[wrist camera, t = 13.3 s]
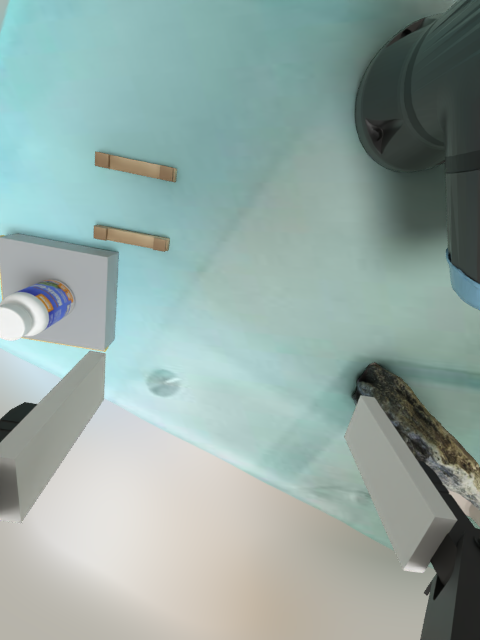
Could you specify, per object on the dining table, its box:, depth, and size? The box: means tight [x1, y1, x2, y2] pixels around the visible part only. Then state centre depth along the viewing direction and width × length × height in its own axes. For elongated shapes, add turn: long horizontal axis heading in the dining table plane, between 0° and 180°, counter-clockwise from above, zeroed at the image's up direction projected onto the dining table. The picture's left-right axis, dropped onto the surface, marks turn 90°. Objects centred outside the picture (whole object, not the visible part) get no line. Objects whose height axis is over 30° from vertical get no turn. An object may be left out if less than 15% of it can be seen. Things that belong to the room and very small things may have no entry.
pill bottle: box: [0, 280, 75, 341], centre depth 38 cm, size 5×5×10 cm
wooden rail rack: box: [94, 151, 177, 252], centre depth 41 cm, size 11×10×2 cm
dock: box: [0, 234, 119, 352], centre depth 45 cm, size 14×14×4 cm
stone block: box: [352, 362, 480, 510], centre depth 45 cm, size 18×9×20 cm, turn 50°
